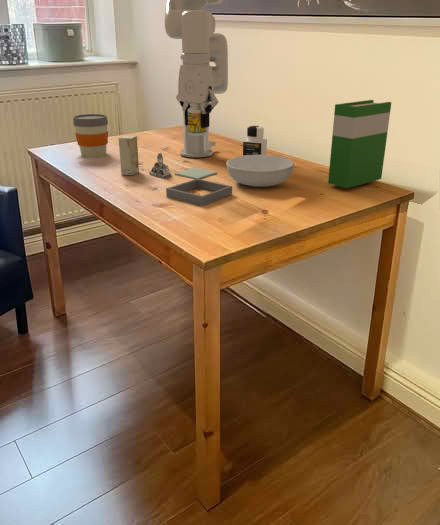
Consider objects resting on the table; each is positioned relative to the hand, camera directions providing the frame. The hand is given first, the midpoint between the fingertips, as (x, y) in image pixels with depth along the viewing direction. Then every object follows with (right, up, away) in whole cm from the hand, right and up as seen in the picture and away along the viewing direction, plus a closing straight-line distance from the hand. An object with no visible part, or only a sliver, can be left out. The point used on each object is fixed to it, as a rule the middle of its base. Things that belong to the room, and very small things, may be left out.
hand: (197, 125), depth 150 cm
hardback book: (+50, -14, +14) cm, 54 cm away
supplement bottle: (0, -2, +1) cm, 3 cm away
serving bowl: (+19, -15, +12) cm, 27 cm away
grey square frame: (+1, -21, -1) cm, 21 cm away
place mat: (-1, -10, +22) cm, 24 cm away
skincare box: (-23, -10, +23) cm, 34 cm away
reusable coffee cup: (-41, 0, +45) cm, 61 cm away
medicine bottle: (+20, -2, +42) cm, 47 cm away
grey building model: (-11, -11, +22) cm, 27 cm away
